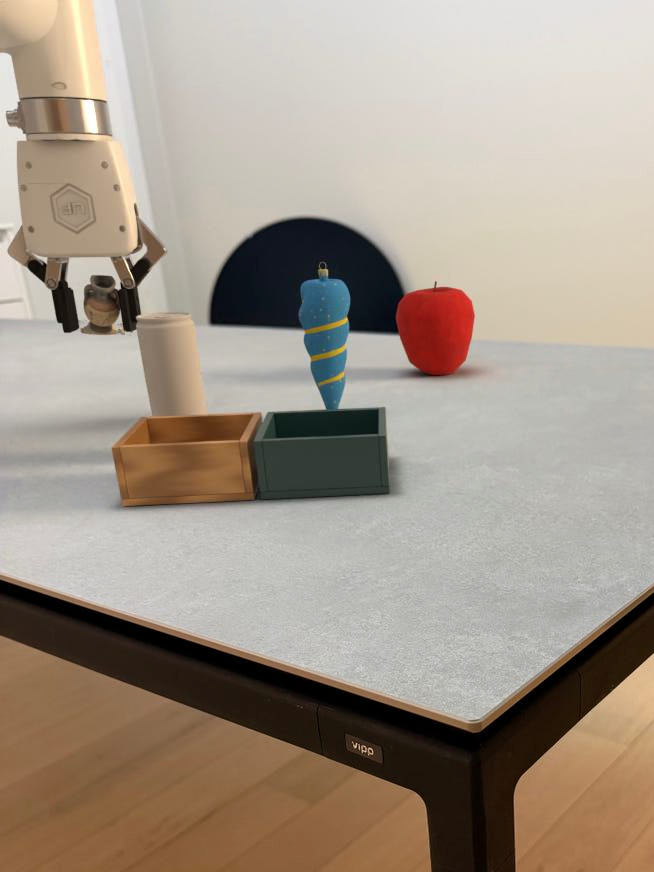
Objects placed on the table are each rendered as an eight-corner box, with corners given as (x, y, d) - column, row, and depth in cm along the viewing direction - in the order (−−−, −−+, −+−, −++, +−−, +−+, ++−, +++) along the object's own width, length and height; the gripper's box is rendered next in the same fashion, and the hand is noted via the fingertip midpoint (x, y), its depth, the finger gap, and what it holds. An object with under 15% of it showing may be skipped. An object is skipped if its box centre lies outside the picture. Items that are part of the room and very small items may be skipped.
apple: (429, 363, 125) (425, 275, 121) (491, 369, 121) (489, 278, 116) (383, 376, 118) (377, 283, 113) (447, 383, 113) (443, 286, 108)
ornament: (321, 410, 102) (307, 259, 95) (366, 412, 100) (355, 259, 94) (301, 421, 97) (284, 264, 90) (348, 423, 96) (335, 264, 89)
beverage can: (173, 462, 84) (149, 320, 79) (149, 452, 87) (124, 315, 82) (222, 452, 87) (202, 314, 82) (197, 442, 90) (176, 310, 85)
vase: (136, 339, 94) (126, 275, 91) (78, 342, 92) (66, 276, 90) (135, 333, 99) (126, 271, 96) (79, 336, 97) (68, 273, 94)
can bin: (260, 499, 74) (253, 441, 72) (273, 464, 83) (267, 411, 81) (389, 493, 75) (386, 435, 72) (388, 459, 83) (385, 406, 81)
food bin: (122, 506, 73) (110, 447, 71) (150, 470, 82) (141, 416, 80) (254, 500, 74) (246, 441, 72) (267, 465, 83) (261, 412, 81)
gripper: (-45, 121, 83) (-1, 337, 91) (154, 122, 85) (181, 334, 92) (-13, 127, 90) (26, 327, 98) (170, 128, 92) (195, 325, 99)
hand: (101, 328), depth 95 cm, fingers closed on vase, 5 cm apart
